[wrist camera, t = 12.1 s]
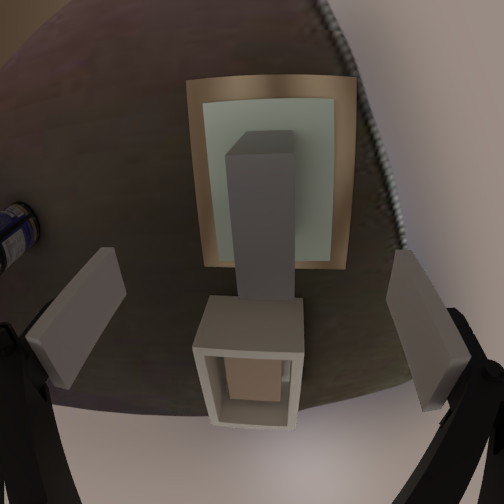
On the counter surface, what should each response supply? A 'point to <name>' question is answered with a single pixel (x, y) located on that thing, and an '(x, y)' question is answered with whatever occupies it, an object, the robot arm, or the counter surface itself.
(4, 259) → the pill bottle
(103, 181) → the counter surface
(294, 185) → the green base grey block
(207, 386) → the storage box
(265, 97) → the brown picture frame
